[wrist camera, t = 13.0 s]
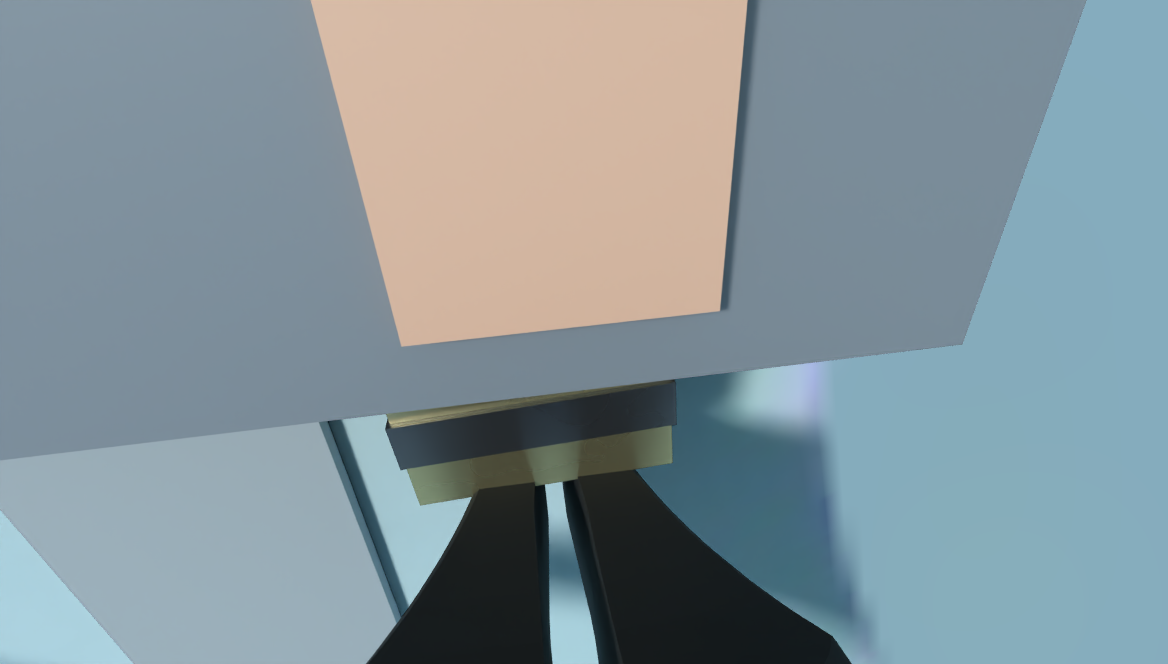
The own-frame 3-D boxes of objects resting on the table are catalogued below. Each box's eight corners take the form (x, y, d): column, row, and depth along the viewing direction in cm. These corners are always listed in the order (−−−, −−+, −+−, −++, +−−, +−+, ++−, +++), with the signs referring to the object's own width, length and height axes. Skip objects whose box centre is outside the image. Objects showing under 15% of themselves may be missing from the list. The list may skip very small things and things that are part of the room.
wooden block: (627, 328, 13) (677, 466, 9) (436, 358, 13) (416, 510, 9) (587, -241, 8) (662, -387, 4) (272, -209, 8) (93, -334, 4)
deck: (411, 645, 18) (410, 659, 18) (169, 682, 17) (162, 697, 17) (298, 345, 12) (293, 357, 12) (-78, 387, 11) (-95, 400, 11)
